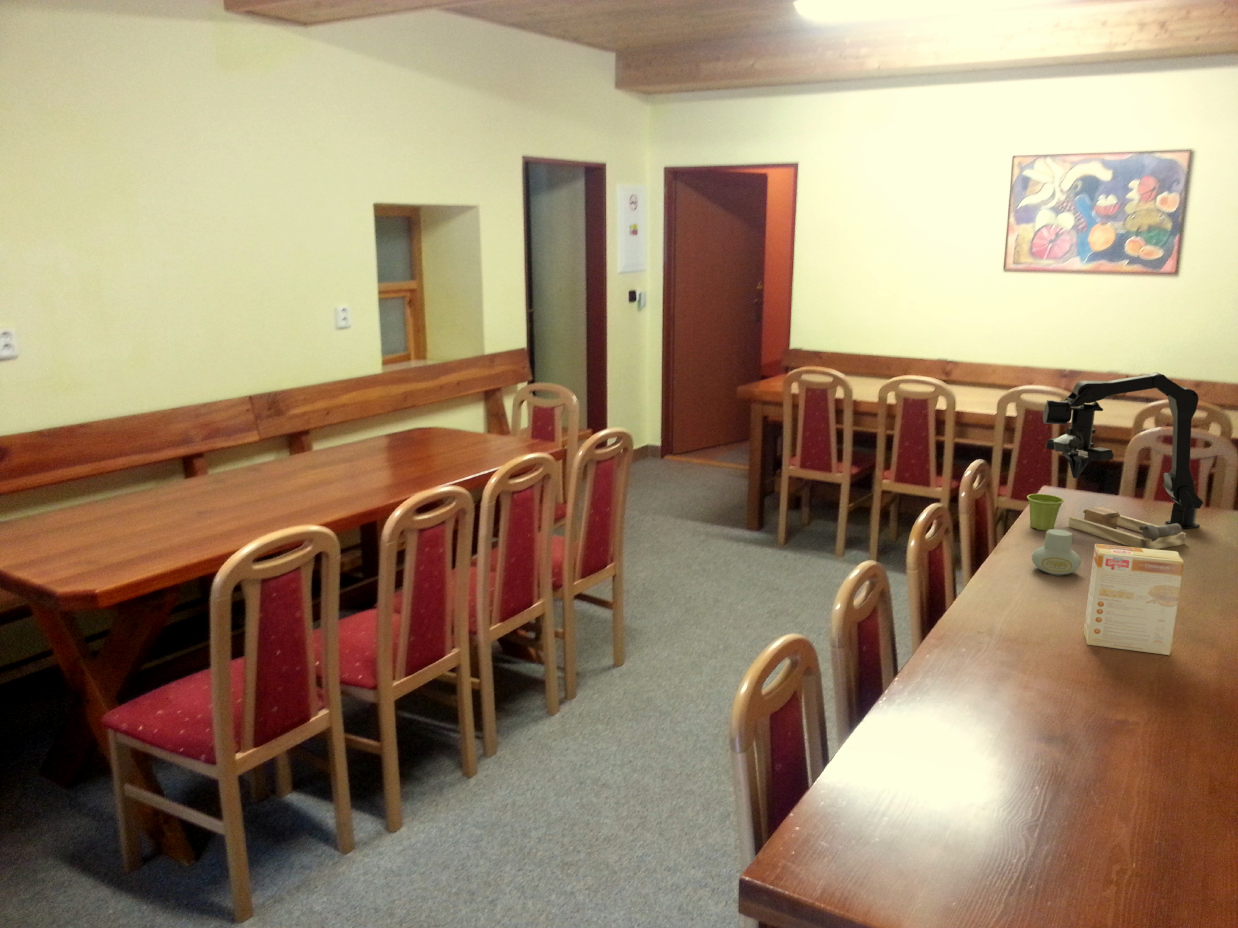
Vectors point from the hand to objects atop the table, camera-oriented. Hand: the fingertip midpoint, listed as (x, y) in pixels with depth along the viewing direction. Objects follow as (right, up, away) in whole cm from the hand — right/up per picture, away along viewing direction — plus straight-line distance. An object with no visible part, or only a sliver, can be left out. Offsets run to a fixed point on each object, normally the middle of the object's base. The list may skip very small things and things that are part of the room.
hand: (1075, 478), depth 277 cm
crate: (+4, -14, -6) cm, 16 cm away
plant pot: (-13, -14, -7) cm, 21 cm away
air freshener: (-26, -22, -43) cm, 55 cm away
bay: (+7, -16, -13) cm, 22 cm away
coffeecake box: (-31, -32, -85) cm, 96 cm away
